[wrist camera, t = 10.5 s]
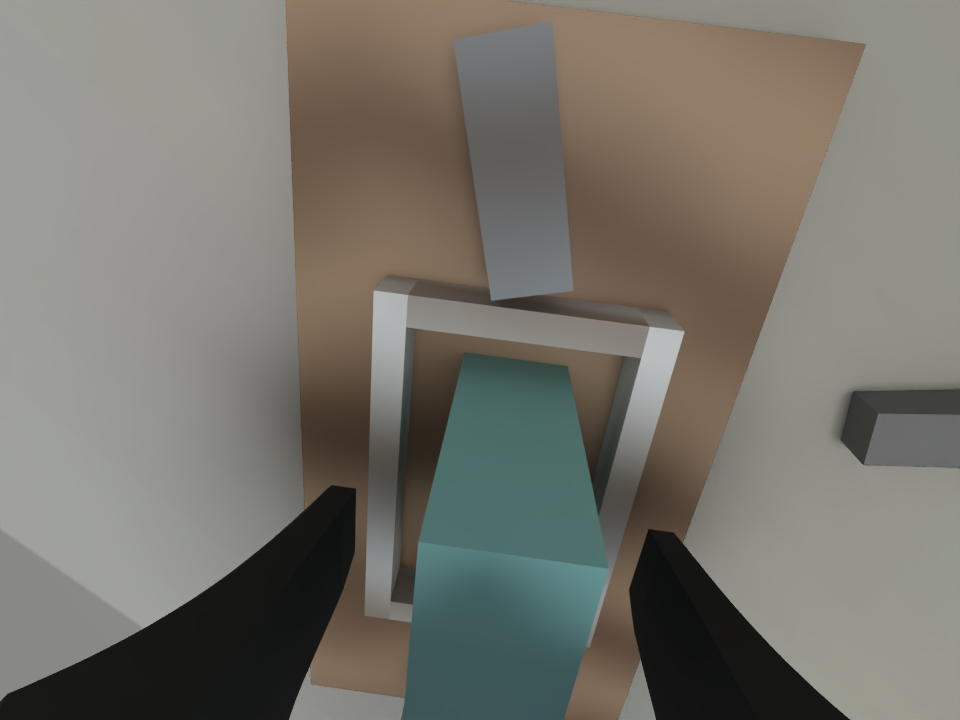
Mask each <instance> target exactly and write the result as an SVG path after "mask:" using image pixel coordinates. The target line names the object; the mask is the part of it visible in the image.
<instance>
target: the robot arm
mask: <svg viewBox="0 0 960 720" xmlns="http://www.w3.org/2000/svg"><path fill="white" fill-rule="evenodd" d="M355 530H356V488H349V487H342V486H335V485H331V486H330V487H328V488H327V489H326V490H325V491H324V492H323V493H322V494H321V495H320V496H319V497H318V498H317V499H316V500H315V501H314V502H313V503H312V504H310V505H309V506H308V507H307V508H306V509H305V510H304V511H303V512H302V513H301V514H300V515H299V516H298V517H297V518H296V519H294V520H293V521H292V522H291V523H290V524H289V525H288V526H287V527H285V528H284V529H283V530H282V531H281V532H280V533H279V534H278V535H276V536H275V537H274V538H273V539H272V540H271V541H270V542H268V543H267V544H266V545H265V546H264V547H262V548H261V549H260V550H259V551H257V552H256V553H255V554H254V555H252V556H251V557H250V558H249V559H247V560H246V561H245V562H244V563H242V564H241V565H240V566H238V567H237V568H236V569H235V570H233V571H232V572H231V573H229V574H228V575H226V576H225V577H224V578H222V579H221V580H220V581H218V582H217V583H215V584H214V585H213V586H211V587H210V588H208V589H207V590H205V591H204V592H202V593H201V594H199V595H198V596H196V597H195V598H193V599H192V600H190V601H189V602H187V603H185V604H184V605H182V606H181V607H179V608H178V609H176V610H174V611H173V612H171V613H169V614H168V615H166V616H164V617H163V618H161V619H159V620H158V621H156V622H154V623H153V624H151V625H149V626H148V627H146V628H144V629H142V630H141V631H139V632H137V633H135V634H134V635H131V636H129V637H128V638H126V639H124V640H122V641H120V642H118V643H116V644H114V645H112V646H111V647H109V648H107V649H105V650H103V651H101V652H99V653H97V654H95V655H93V656H91V657H89V658H87V659H84V660H82V661H81V662H79V663H76V664H74V665H72V666H70V667H68V668H66V669H63V670H61V671H59V672H57V673H54V674H52V675H50V676H47V677H45V678H43V679H41V680H38V681H36V682H34V683H32V684H30V685H27V686H25V687H23V688H21V689H18V690H16V691H14V692H11V693H9V694H7V695H6V696H5V697H4V698H3V699H2V700H1V701H0V720H289V718H290V715H291V712H292V709H293V706H294V703H295V700H296V698H297V695H298V693H299V690H300V688H301V685H302V683H303V680H304V678H305V676H306V674H307V671H308V669H309V667H310V665H311V662H312V660H313V658H314V656H315V653H316V651H317V649H318V647H319V644H320V642H321V640H322V638H323V635H324V633H325V631H326V628H327V626H328V624H329V622H330V619H331V617H332V615H333V613H334V610H335V608H336V606H337V603H338V601H339V599H340V596H341V594H342V592H343V589H344V586H345V583H346V579H347V576H348V573H349V570H350V567H351V563H352V560H353V557H354V553H355ZM629 596H630V604H631V613H632V620H633V627H634V633H635V637H636V642H637V646H638V650H639V654H640V658H641V662H642V666H643V670H644V674H645V677H646V681H647V685H648V689H649V693H650V697H651V701H652V705H653V709H654V712H655V716H656V720H850V719H848V718H847V717H846V716H845V715H844V714H843V713H841V712H840V711H839V710H838V709H837V708H836V707H834V706H833V705H832V704H831V703H830V702H829V701H828V700H826V699H825V698H824V697H823V696H822V695H821V694H820V693H819V692H818V691H816V690H815V689H814V688H813V687H812V686H811V685H810V684H809V683H808V682H807V681H806V680H805V679H804V678H803V677H802V676H801V675H800V674H799V673H797V672H796V671H795V670H794V669H793V668H792V667H791V666H790V665H789V664H788V663H787V662H786V661H785V660H784V659H783V658H782V657H781V656H780V655H779V654H778V653H777V652H776V651H775V650H774V649H773V648H772V647H771V646H770V645H769V644H768V643H767V641H766V640H765V639H764V638H763V637H762V636H761V635H760V634H759V633H758V632H757V631H756V630H755V629H754V628H753V626H752V625H751V624H750V623H749V622H748V621H747V620H746V619H745V618H744V617H743V615H742V614H741V613H740V612H739V611H738V610H737V609H736V607H735V606H734V605H733V604H732V603H731V602H730V601H729V599H728V598H727V597H726V596H725V595H724V593H723V592H722V591H721V590H720V589H719V587H718V586H717V585H716V584H715V583H714V581H713V580H712V579H711V578H710V577H709V575H708V574H707V573H706V572H705V570H704V569H703V568H702V567H701V565H700V564H699V563H698V562H697V561H696V559H695V558H694V557H693V556H692V554H691V553H690V552H689V551H688V549H687V548H686V547H685V546H684V544H683V543H682V542H681V541H680V539H679V538H678V537H677V536H676V535H675V533H674V532H668V531H660V530H653V529H648V532H647V535H646V538H645V541H644V544H643V547H642V550H641V554H640V557H639V560H638V563H637V566H636V569H635V572H634V575H633V578H632V581H631V584H630V587H629Z"/></svg>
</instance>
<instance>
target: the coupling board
mask: <svg viewBox="0 0 960 720" xmlns="http://www.w3.org/2000/svg"><path fill="white" fill-rule="evenodd" d="M286 27H287V54H288V80H289V107H290V134H291V161H292V187H293V214H294V241H295V268H296V295H297V321H298V348H299V375H300V402H301V428H302V455H303V482H304V509H306V508H307V507H308V506H309V505H310V504H312V503H313V502H314V501H315V500H316V499H317V498H318V497H319V496H320V495H321V494H322V493H323V492H324V491H325V490H326V489H327V488H328V487H330V486H331V485H335V486H342V487H349V488H356V530H355V553H354V557H353V560H352V563H351V567H350V570H349V573H348V576H347V579H346V583H345V586H344V589H343V592H342V594H341V596H340V599H339V601H338V603H337V606H336V608H335V610H334V613H333V615H332V617H331V619H330V622H329V624H328V626H327V628H326V631H325V633H324V635H323V638H322V640H321V642H320V644H319V647H318V649H317V651H316V653H315V656H314V658H313V660H312V662H311V665H310V669H311V684H312V685H319V686H326V687H333V688H340V689H347V690H353V691H360V692H367V693H374V694H381V695H388V696H395V697H402V698H405V692H406V680H407V668H408V656H409V645H410V633H411V621H412V610H413V598H414V586H415V575H416V563H417V551H418V541H419V537H420V533H421V529H422V525H423V521H424V517H425V513H426V508H427V504H428V500H429V496H430V492H431V488H432V484H433V480H434V476H435V472H436V468H437V464H438V459H439V455H440V451H441V447H442V443H443V439H444V435H445V431H446V427H447V423H448V419H449V414H450V410H451V406H452V402H453V398H454V394H455V390H456V386H457V382H458V378H459V374H460V369H461V365H462V361H463V357H464V353H465V352H467V353H474V354H482V355H489V356H497V357H504V358H512V359H519V360H526V361H534V362H541V363H549V364H556V365H564V366H568V370H569V375H570V380H571V385H572V389H573V394H574V399H575V404H576V409H577V414H578V419H579V424H580V429H581V434H582V439H583V444H584V448H585V453H586V458H587V463H588V468H589V473H590V478H591V483H592V488H593V493H594V498H595V503H596V507H597V512H598V517H599V522H600V527H601V532H602V537H603V542H604V547H605V552H606V557H607V562H608V567H609V570H608V574H607V577H606V580H605V584H604V587H603V591H602V594H601V597H600V601H599V604H598V607H597V611H596V614H595V617H594V621H593V624H592V627H591V631H590V634H589V637H588V641H587V644H586V647H585V651H584V654H583V657H582V661H581V664H580V668H579V671H578V674H577V678H576V681H575V684H574V688H573V691H572V694H571V698H570V701H569V704H568V708H567V711H566V714H565V718H564V720H618V718H619V715H620V713H621V710H622V707H623V705H624V702H625V699H626V696H627V694H628V691H629V688H630V685H631V683H632V680H633V677H634V675H635V672H636V669H637V666H638V664H639V661H640V654H639V650H638V646H637V642H636V637H635V633H634V627H633V620H632V613H631V604H630V596H629V587H630V584H631V581H632V578H633V575H634V572H635V569H636V566H637V563H638V560H639V557H640V554H641V550H642V547H643V544H644V541H645V538H646V535H647V532H648V529H653V530H660V531H668V532H674V533H675V535H676V536H677V537H678V538H679V539H680V541H681V542H682V543H683V541H684V538H685V536H686V533H687V530H688V528H689V525H690V522H691V519H692V517H693V514H694V511H695V508H696V506H697V503H698V500H699V498H700V495H701V492H702V489H703V487H704V484H705V481H706V479H707V476H708V473H709V470H710V468H711V465H712V462H713V459H714V457H715V454H716V451H717V449H718V446H719V443H720V440H721V438H722V435H723V432H724V430H725V427H726V424H727V421H728V419H729V416H730V413H731V410H732V408H733V405H734V402H735V400H736V397H737V394H738V391H739V389H740V386H741V383H742V381H743V378H744V375H745V372H746V370H747V367H748V364H749V361H750V359H751V356H752V353H753V351H754V348H755V345H756V342H757V340H758V337H759V334H760V331H761V329H762V326H763V323H764V321H765V318H766V315H767V312H768V310H769V307H770V304H771V302H772V299H773V296H774V293H775V291H776V288H777V285H778V282H779V280H780V277H781V274H782V272H783V269H784V266H785V263H786V261H787V258H788V255H789V253H790V250H791V247H792V244H793V242H794V239H795V236H796V233H797V231H798V228H799V225H800V223H801V220H802V217H803V214H804V212H805V209H806V206H807V204H808V201H809V198H810V195H811V193H812V190H813V187H814V184H815V182H816V179H817V176H818V174H819V171H820V168H821V165H822V163H823V160H824V157H825V155H826V152H827V149H828V146H829V144H830V141H831V138H832V135H833V133H834V130H835V127H836V125H837V122H838V119H839V116H840V114H841V111H842V108H843V105H844V103H845V100H846V97H847V95H848V92H849V89H850V86H851V84H852V81H853V78H854V76H855V73H856V70H857V67H858V65H859V62H860V59H861V56H862V54H863V51H864V48H865V46H866V44H861V43H853V42H845V41H836V40H828V39H820V38H812V37H803V36H795V35H787V34H778V33H770V32H762V31H754V30H745V29H737V28H729V27H721V26H712V25H704V24H696V23H687V22H679V21H671V20H663V19H654V18H646V17H638V16H630V15H621V14H613V13H605V12H596V11H588V10H580V9H572V8H563V7H555V6H547V5H539V4H530V3H522V2H514V1H505V0H286ZM403 715H404V709H403V714H402V719H401V720H403Z"/></svg>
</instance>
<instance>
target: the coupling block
mask: <svg viewBox="0 0 960 720" xmlns="http://www.w3.org/2000/svg"><path fill="white" fill-rule="evenodd" d="M608 570H609V567H608V562H607V557H606V552H605V547H604V542H603V537H602V532H601V527H600V522H599V517H598V512H597V507H596V503H595V498H594V493H593V488H592V483H591V478H590V473H589V468H588V463H587V458H586V453H585V448H584V444H583V439H582V434H581V429H580V424H579V419H578V414H577V409H576V404H575V399H574V394H573V389H572V385H571V380H570V375H569V370H568V366H564V365H556V364H549V363H541V362H534V361H526V360H519V359H512V358H504V357H497V356H489V355H482V354H474V353H467V352H465V353H464V357H463V361H462V365H461V369H460V374H459V378H458V382H457V386H456V390H455V394H454V398H453V402H452V406H451V410H450V414H449V419H448V423H447V427H446V431H445V435H444V439H443V443H442V447H441V451H440V455H439V459H438V464H437V468H436V472H435V476H434V480H433V484H432V488H431V492H430V496H429V500H428V504H427V508H426V513H425V517H424V521H423V525H422V529H421V533H420V537H419V541H418V551H417V563H416V575H415V586H414V598H413V610H412V621H411V633H410V645H409V656H408V668H407V680H406V692H405V703H404V715H403V720H564V718H565V714H566V711H567V708H568V704H569V701H570V698H571V694H572V691H573V688H574V684H575V681H576V678H577V674H578V671H579V668H580V664H581V661H582V657H583V654H584V651H585V647H586V644H587V641H588V637H589V634H590V631H591V627H592V624H593V621H594V617H595V614H596V611H597V607H598V604H599V601H600V597H601V594H602V591H603V587H604V584H605V580H606V577H607V574H608Z"/></svg>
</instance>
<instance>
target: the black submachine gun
mask: <svg viewBox="0 0 960 720" xmlns="http://www.w3.org/2000/svg"><path fill="white" fill-rule="evenodd" d="M841 441H842V442H843V443H844V444H845V445H846V447H847V448H848V449H849V450H850V451H851V452H852V453H853V454H854V455H855V456H856V458H857V459H858V460H859V461H860V462H861V463H862V464H863V465H875V466H911V467H946V468H960V389H959V390H906V391H854V392H853V395H852V399H851V403H850V407H849V410H848V414H847V418H846V422H845V425H844V429H843V433H842V437H841Z"/></svg>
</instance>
